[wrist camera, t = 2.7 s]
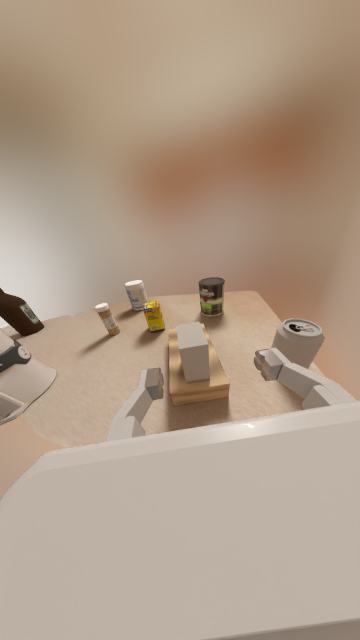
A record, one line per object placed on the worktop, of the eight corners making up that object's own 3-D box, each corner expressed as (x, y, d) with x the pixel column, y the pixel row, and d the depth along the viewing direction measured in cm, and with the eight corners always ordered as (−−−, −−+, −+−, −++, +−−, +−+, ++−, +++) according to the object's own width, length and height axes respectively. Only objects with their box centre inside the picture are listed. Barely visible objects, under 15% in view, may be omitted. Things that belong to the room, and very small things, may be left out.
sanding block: (210, 379, 27) (208, 344, 22) (186, 383, 27) (178, 349, 22) (202, 354, 33) (199, 321, 28) (182, 357, 33) (176, 325, 28)
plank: (228, 396, 28) (229, 383, 26) (174, 406, 28) (169, 393, 26) (204, 334, 47) (203, 323, 44) (171, 340, 47) (168, 329, 45)
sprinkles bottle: (118, 328, 60) (105, 301, 53) (121, 332, 57) (108, 304, 50) (108, 333, 58) (93, 306, 51) (111, 337, 55) (95, 309, 48)
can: (265, 351, 37) (275, 315, 31) (298, 355, 34) (317, 316, 28) (271, 374, 31) (284, 335, 25) (311, 381, 28) (338, 339, 22)
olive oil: (16, 339, 66) (-34, 292, 53) (24, 330, 74) (-17, 287, 61) (43, 331, 70) (2, 285, 57) (47, 323, 78) (13, 281, 65)
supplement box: (165, 330, 53) (158, 306, 48) (150, 333, 53) (142, 309, 47) (164, 322, 58) (158, 300, 53) (151, 325, 58) (144, 303, 52)
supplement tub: (130, 311, 74) (120, 286, 66) (137, 304, 82) (129, 280, 74) (146, 310, 72) (137, 284, 64) (151, 303, 80) (144, 279, 72)
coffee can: (216, 319, 54) (216, 286, 47) (196, 313, 61) (193, 283, 54) (227, 308, 60) (229, 278, 53) (208, 304, 67) (207, 276, 59)
